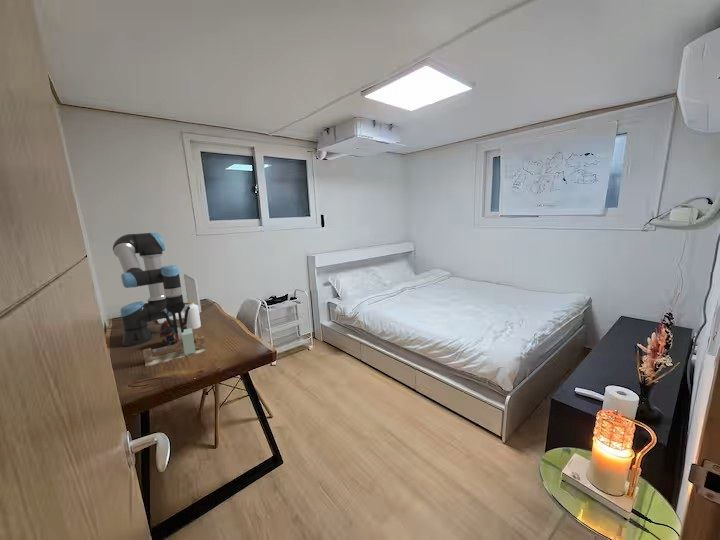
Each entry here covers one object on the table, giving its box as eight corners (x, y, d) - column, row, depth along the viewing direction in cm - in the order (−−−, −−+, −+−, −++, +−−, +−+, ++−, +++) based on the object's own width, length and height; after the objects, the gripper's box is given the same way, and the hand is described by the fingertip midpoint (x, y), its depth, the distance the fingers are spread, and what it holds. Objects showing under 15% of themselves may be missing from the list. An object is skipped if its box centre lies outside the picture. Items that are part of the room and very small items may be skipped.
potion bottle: (183, 329, 191) (179, 303, 187) (195, 325, 198) (191, 299, 195) (192, 331, 187) (188, 304, 184) (203, 326, 195) (200, 300, 192)
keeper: (184, 355, 151) (181, 335, 149) (184, 349, 159) (181, 330, 157) (195, 352, 154) (192, 333, 152) (194, 346, 161) (191, 327, 159)
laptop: (151, 313, 229) (145, 279, 224) (190, 305, 248) (186, 273, 243) (158, 323, 204) (151, 285, 199) (202, 313, 223) (197, 278, 218)
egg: (185, 343, 169) (181, 318, 166) (163, 349, 161) (159, 324, 159) (180, 338, 176) (176, 314, 174) (159, 344, 169) (155, 319, 166)
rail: (145, 366, 142) (142, 351, 141) (146, 359, 150) (143, 344, 148) (206, 351, 157) (204, 337, 155) (204, 345, 164) (202, 332, 163)
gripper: (158, 299, 142) (165, 344, 146) (188, 294, 149) (195, 337, 153) (158, 296, 148) (166, 339, 153) (187, 291, 155) (194, 333, 160)
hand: (180, 338), depth 153 cm, fingers closed
